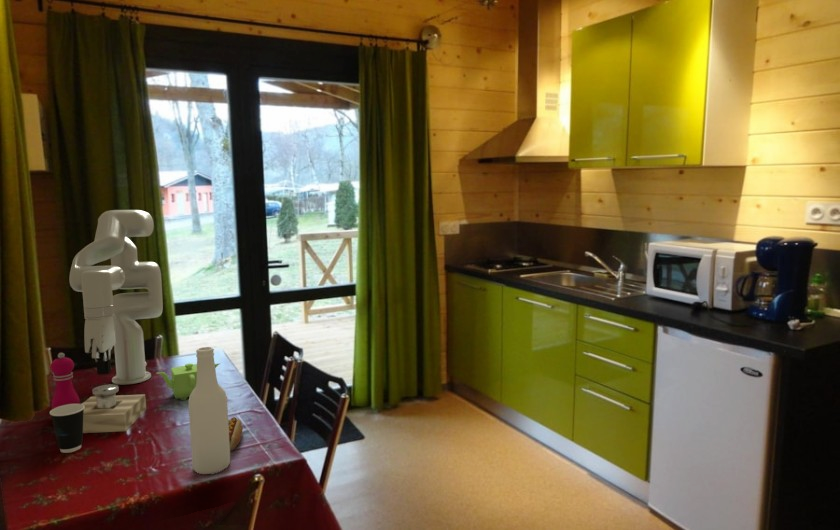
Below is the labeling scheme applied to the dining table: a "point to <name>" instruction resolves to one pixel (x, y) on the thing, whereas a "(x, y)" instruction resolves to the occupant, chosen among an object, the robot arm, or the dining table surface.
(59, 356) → the pepper mill
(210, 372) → the alcohol
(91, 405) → the block
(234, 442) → the food
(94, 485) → the dining table surface
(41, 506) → the dining table surface
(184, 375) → the teapot
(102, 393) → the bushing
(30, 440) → the dining table surface
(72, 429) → the dixie cup
